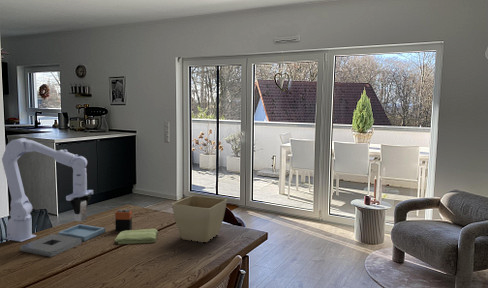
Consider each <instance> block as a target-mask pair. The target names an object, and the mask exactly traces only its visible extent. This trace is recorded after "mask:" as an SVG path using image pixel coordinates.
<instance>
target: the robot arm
mask: <svg viewBox="0 0 488 288" xmlns="http://www.w3.org/2000/svg"><path fill="white" fill-rule="evenodd" d="M31 152H37V153H40V154H41V155H42V154H43V155H45V156H48V157H51V158H54V160H55V162H57V163H59V164H61V165H65V166H67V167H69V168H70V167H71V168H72V171H73V172H72V193H70V194H68V195H66V196H65V200H66V202H67V201H68V202H69V203H70V205H71V206H72V209H73V213H75V214H79V213H80V204H81V201H82V200H86V204H87V207H88V205H89V204H90V203H89V202H90V201H91V199H92V195H94V189H88V179H87V178H88V177H87V176H88V174H87V165H88V160H87V158H86V157H85V156H82V155H79V154H76V153H75V154H74V153H71V152H69V151H68V149H60V150H59V149H58V150H56V149H54V148H52V147H49V146H47V145H44V144H43V143H40V142H38V141H35V140H33V139H28V138H27V137H21V138H17V139H12V140H10V141H9V142H8V143H7V144H6V145H5V149H4V153H3V154H2V158H1V162H2V167H3V170H4V174H5V179H6V181H7V186H8V191H9V194H10V197H11V200H10V211H9V216H10V218H9V219H8V221H7V223H6V237H5V240H9V241H13V242H20V243H22V242H24V241H25V242H26V241H27V240H30V239H33V238H36V237H37V236H38V235H36V234H33V233H32V231H33V229H32V224H33V223H32V215H31V213H32V212H33V205H32V203H31V202H30V200H29V197H28V196H27V195H26V194H25V193H26V192H25V189H24V185H23V180H22V177H21V173H20V172H21V171H20V168H19V165H18V160H19V159H20V158H21V156H22V155H24V154H25V153H31Z"/></svg>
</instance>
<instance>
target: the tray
mask: <svg viewBox="0 0 488 288" xmlns="http://www.w3.org/2000/svg"><path fill="white" fill-rule="evenodd" d="M104 233H106V227H100V226H94V225H93V226H92V225H87V224H81V223H79V224H76V225H74V226H71V227H69V228H66V229H63V230H60V231H58V232H57V235H62V236H68V237H74V238H80V239H82V242H87V241H88V240H92V239H94V238H95V237H98V236H101V235H102V234H104Z"/></svg>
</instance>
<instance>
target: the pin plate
mask: <svg viewBox="0 0 488 288" xmlns="http://www.w3.org/2000/svg"><path fill="white" fill-rule="evenodd" d="M82 242H83V241H82V239H80V238H74V237H68V236H62V235H58V234H55V233H52V234H49V235H45V236H44V237H41V238H38V239H35V240H32V241H31V242H27V243H26V244H22V245H20V246H19V247H20V248H19V249H20V250H19V251H20V252H25V253H30V254H34V255H40V256H43V257H44V256H45V257H50V258H52V257H54V256H57V255H59V254H61V253H63V252H65V251H68V250H70V249H72V248H74V247H77V246H79V245H81V244H82Z"/></svg>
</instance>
